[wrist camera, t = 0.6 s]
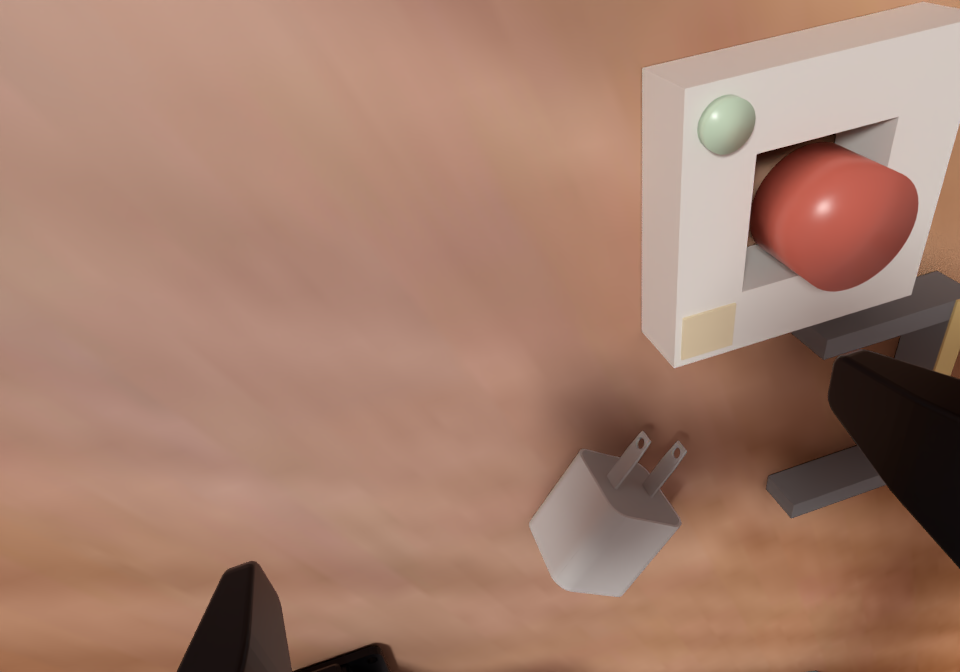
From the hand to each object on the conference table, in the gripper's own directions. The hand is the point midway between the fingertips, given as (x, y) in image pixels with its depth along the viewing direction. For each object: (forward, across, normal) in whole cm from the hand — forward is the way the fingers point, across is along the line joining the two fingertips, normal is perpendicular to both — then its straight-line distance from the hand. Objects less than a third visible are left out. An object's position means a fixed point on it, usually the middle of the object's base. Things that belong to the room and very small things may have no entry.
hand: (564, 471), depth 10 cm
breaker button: (+11, -13, +4) cm, 18 cm away
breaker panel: (+13, -13, +4) cm, 19 cm away
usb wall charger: (+13, -5, +16) cm, 21 cm away
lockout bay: (+13, -17, +16) cm, 27 cm away
